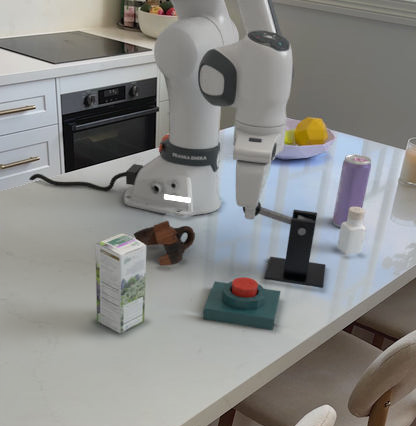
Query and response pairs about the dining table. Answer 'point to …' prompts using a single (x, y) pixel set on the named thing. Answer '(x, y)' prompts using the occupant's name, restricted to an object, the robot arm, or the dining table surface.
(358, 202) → the beverage can
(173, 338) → the dining table surface
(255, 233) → the dining table surface
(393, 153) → the dining table surface
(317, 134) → the fruit bowl
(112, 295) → the syrup box
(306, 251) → the lever stand
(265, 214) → the lever handle
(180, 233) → the brown clay jug
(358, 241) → the pepper shaker
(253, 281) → the button
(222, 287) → the teal base plate
